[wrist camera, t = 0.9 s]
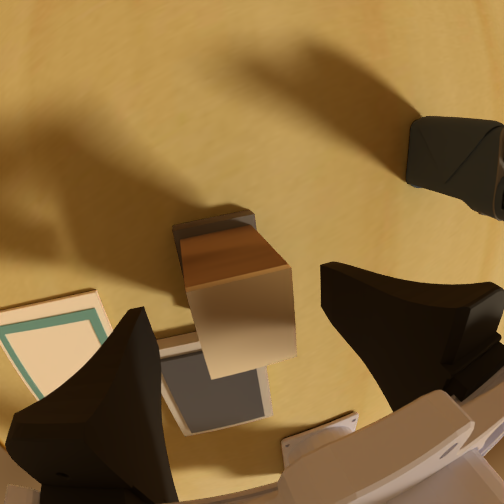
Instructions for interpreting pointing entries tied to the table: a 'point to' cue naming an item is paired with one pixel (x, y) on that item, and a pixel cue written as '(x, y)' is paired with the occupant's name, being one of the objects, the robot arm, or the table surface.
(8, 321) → the print sheet
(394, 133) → the table surface
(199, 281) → the stamp
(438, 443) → the robot arm
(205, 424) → the ink pad
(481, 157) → the vaping device
